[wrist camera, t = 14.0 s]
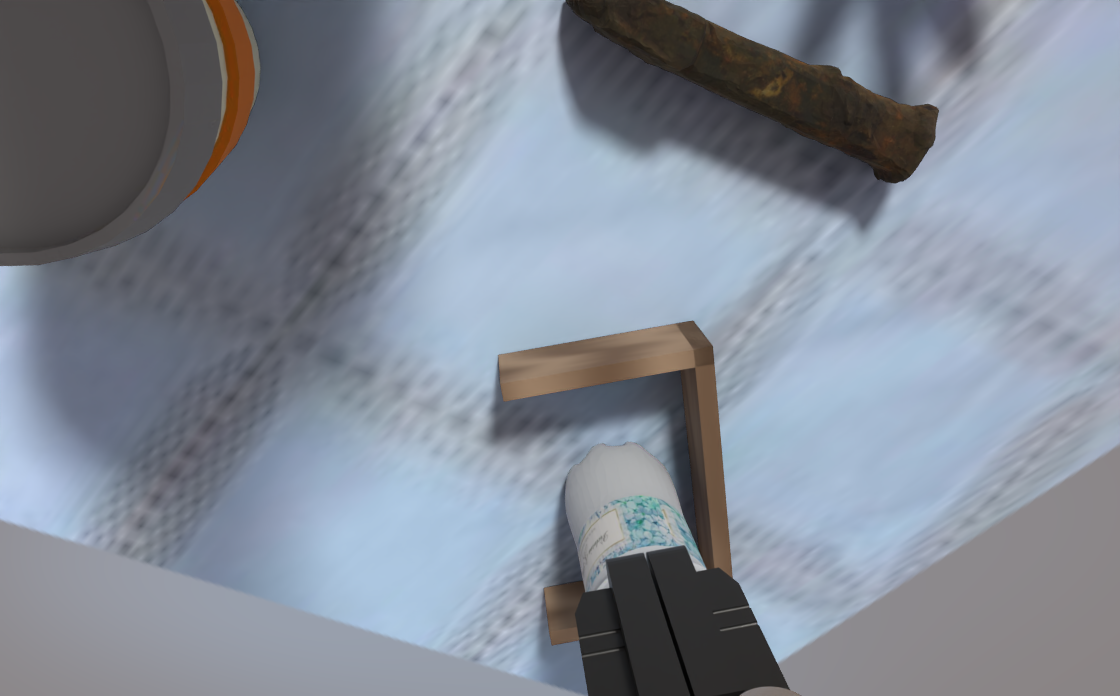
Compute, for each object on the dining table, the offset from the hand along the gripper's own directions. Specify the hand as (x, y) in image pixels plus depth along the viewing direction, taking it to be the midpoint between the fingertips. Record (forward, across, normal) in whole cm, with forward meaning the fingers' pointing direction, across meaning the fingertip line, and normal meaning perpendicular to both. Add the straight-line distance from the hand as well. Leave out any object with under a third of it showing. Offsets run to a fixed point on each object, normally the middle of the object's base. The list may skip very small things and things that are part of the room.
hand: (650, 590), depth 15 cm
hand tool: (+30, +11, +6) cm, 32 cm away
